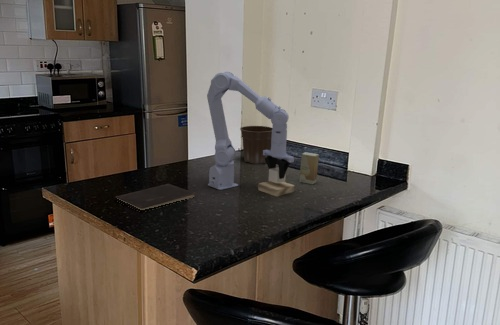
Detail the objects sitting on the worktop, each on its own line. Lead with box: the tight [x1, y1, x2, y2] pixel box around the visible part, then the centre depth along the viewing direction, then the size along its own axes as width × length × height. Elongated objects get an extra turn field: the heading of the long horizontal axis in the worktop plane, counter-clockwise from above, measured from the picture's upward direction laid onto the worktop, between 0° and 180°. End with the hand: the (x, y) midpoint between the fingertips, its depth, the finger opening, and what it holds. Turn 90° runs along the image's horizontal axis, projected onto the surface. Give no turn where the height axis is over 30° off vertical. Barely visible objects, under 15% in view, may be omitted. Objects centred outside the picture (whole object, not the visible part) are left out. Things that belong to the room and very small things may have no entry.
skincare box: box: [298, 152, 320, 185], centre depth 184 cm, size 6×4×12 cm
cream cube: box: [268, 166, 287, 183], centre depth 172 cm, size 5×5×5 cm
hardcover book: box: [114, 183, 196, 210], centre depth 159 cm, size 16×23×2 cm
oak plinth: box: [257, 181, 296, 197], centre depth 173 cm, size 10×10×3 cm
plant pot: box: [239, 125, 272, 165], centre depth 216 cm, size 16×16×16 cm
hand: (277, 176), depth 172 cm, fingers closed on cream cube, 4 cm apart
